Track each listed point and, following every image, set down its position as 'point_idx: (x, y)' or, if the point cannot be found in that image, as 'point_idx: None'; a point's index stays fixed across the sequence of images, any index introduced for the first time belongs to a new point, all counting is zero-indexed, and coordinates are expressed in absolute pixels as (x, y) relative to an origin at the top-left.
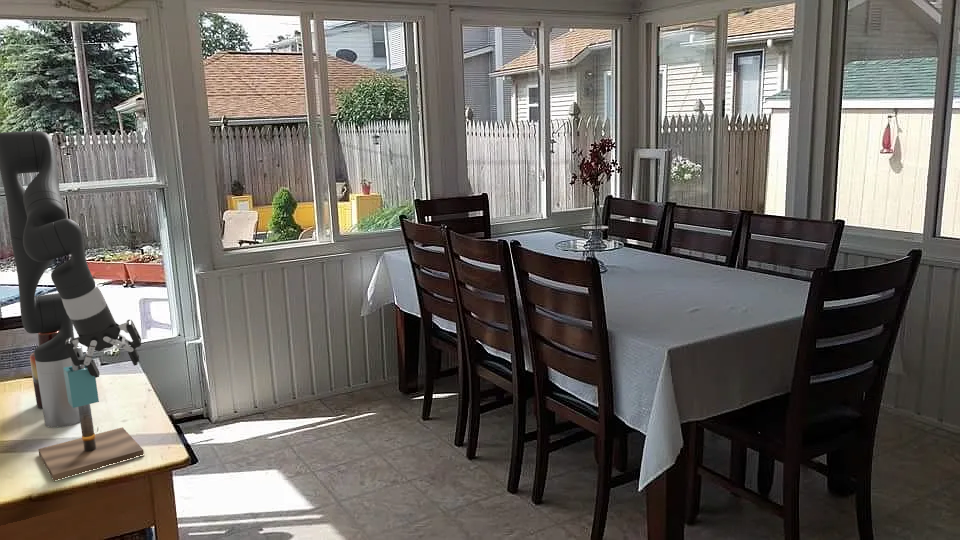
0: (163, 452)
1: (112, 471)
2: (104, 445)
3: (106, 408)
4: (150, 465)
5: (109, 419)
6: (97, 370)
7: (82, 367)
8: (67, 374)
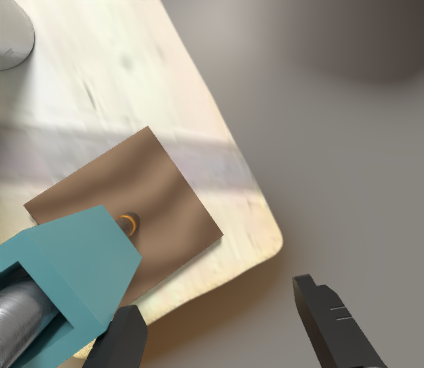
0: (246, 222)
1: (193, 281)
2: (149, 207)
3: None
4: (242, 266)
5: (91, 48)
6: (132, 335)
7: (35, 337)
8: None
